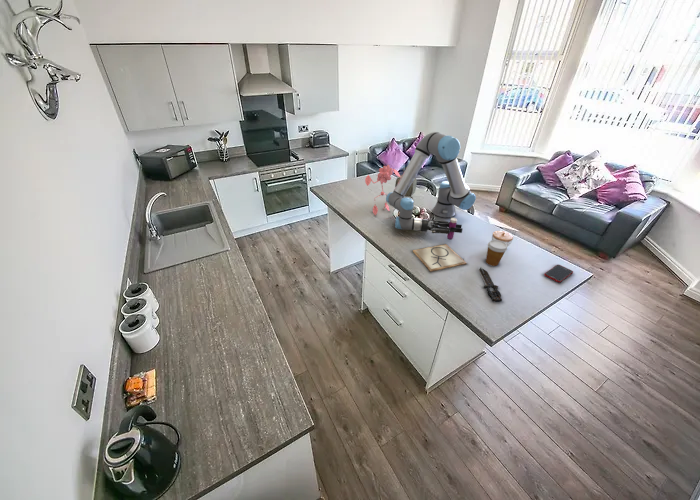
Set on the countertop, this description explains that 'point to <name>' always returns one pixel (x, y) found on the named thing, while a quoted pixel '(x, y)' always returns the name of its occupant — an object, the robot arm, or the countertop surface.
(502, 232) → the lidded sugar bowl
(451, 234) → the dot marker
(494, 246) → the disposable coffee cup
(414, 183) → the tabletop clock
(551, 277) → the cell phone
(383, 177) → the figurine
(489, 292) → the knife
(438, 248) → the drawing board
